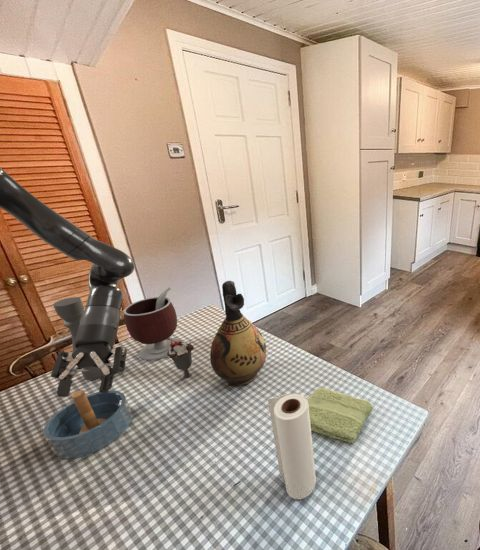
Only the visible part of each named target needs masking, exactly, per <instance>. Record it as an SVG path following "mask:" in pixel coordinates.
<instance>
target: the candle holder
mask: <svg viewBox="0 0 480 550" xmlns="http://www.w3.org/2000/svg"><path fill="white" fill-rule="evenodd" d="M83 303H84V302H83V301H82V298H81V297H79V296H74V297H67V298H64V299H60V300H58V301H55V302H54V303H53V305H52V306H53V308H54V311H55V313H56V315H57V316H58V317H59V318H60V319H62V320H63V322H62V325H63V327H64V328H65V327H66V328H68V331H69V333H70V336H71V343H72V352H73V351H74V350H75V348H76V345H75V341H76V337H77V333H78V329H79V325H80V321H81V318H82V315H83V313H84V310H85V306H84V304H83ZM81 374H82V376H83V379H84V380H85V381H96V380H98V379H102V376H104V373H103V372H102V370H101V369H100V368H95V367H92V368H89V369H83V370H82V371H81Z"/></svg>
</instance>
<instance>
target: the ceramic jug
mask: <svg viewBox="0 0 480 550" xmlns="http://www.w3.org/2000/svg"><path fill="white" fill-rule="evenodd" d="M221 289H222V297H223V303H224V313H225V318H224V320H223V321H222V323H221V324H220V326H219V327H218V329H217V331H216V334H215V335H214V338H213V340H212V343H211V346H210V353H209V355H210V356H209V360H210V366H211V368H212V370H213V371H214V373H215V374H216V375H217V376H218V377H219V378H221V379H222V380H224V381H225V383H226V385H227V386H228V387H237V388H238V387H244V386H247V385H248V384H250V383H252V382H253V381H254V380H255V379H256V378H257V376H258V373H259V372H260V371H261V369H262V368H263V367H264V365H265V363H266V359H267V349H268V348H267V344H266V341H265V339H264V336H263V334H262V333H261V331H260V330H259V328H257V327H256V326H255V324H253V323H252V322H251V320H249V319H248V318H247V317H246V316H244V315H243V313H242V312H241V310H242V309H243V308H244V306H245V297H244V296H243V294H242V293H237V287H236V285H235V281H232V280H226V281H224V282H223V283H222V285H221Z"/></svg>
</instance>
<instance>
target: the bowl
mask: <svg viewBox="0 0 480 550" xmlns="http://www.w3.org/2000/svg"><path fill="white" fill-rule="evenodd" d="M86 396H87V398H88V401H89V403H90V405H91V407H92V409H93V411H94V414H95V416H96V418H97V419H101V418H103V419H106V421H104V422H103V423H101V424H100V425H98V426H96V427H94V428H92V429H90V430H88V431H86V432H83V433H80V434H79V432H80V430H81V429H82V428H83V427H84V426H85V424H84V422H83V419H82V417H81V415H80V413H79V411H78V409H77V407H76V405H75V403H74V401H72V402H70V403H69V404H67V405H65V406H63V407H62V408H61V409H60V410H58V411H57V412H56V413H54V414H53V415H52V416H51V417H50V418H49V419H48V421H46V423H45V424H44V427H43V430H42V432H43V437H44V439H45V440H46V442H47V444H48V446H49V447H50V450H51V451H52V453H53V454H54V456H56V457H58V459H63V460H64V459H65V460H73V459H77V458H82V457H85V456H88V455H91V454H93V453H96V452H97V451H100V450H101V449H104V448H105V447H107V446H108V445H109V446H110V444H111V443H113V442H114V441H116V440H117V439H118V438H120V436H121V435H122V434H124V433H125V431H127V429H128V428H129V426H130V424H131V423H132V420H133V413H132V409H131V407H130V404H129V402H128V400H127V398H126V396H125V393H123V392H121V391H119V390H111V389H110V390H109V391H108V392H107V393H100V392H99V391H97V392H94V393H91V394H86Z"/></svg>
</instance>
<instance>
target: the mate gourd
mask: <svg viewBox="0 0 480 550" xmlns="http://www.w3.org/2000/svg"><path fill="white" fill-rule="evenodd" d="M170 290H171V288H170V287H167V288H166V289H165V290H164V291H162V293H160V295H158V296H154V297H149V298H148V297H147V298H143V299H140V300H137V301H134V302H131V304H129V305H127V306H125V308H124V309H123V318H124V324H125V327H126V330H127V332H128V334H129V335H130V337H131V338H132V339H133V340H134V341H135V342H137V343H140V344H143V345H145V346H144V347H141V349H140V351H139V357H140V358H141V360H144V361H157V360H161V359H165V358H167V357H168V356H167V353H168V351H169V349H170V347H171V346H170V344H171V341H172V343H175V342H176V341H178V342H179V341H181V339H180V338H177V337H172V336H173V335H174V333H175V331H176V330H177V328H178V316H177V312H176V308H175V307H174V304H173V303H172V301H171V299H170V298H169V297H167V294H168V292H169V291H170ZM168 338H170V339H169V340H167V339H168ZM171 339H172V340H171ZM173 340H174V341H175V342H174V341H173Z"/></svg>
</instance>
